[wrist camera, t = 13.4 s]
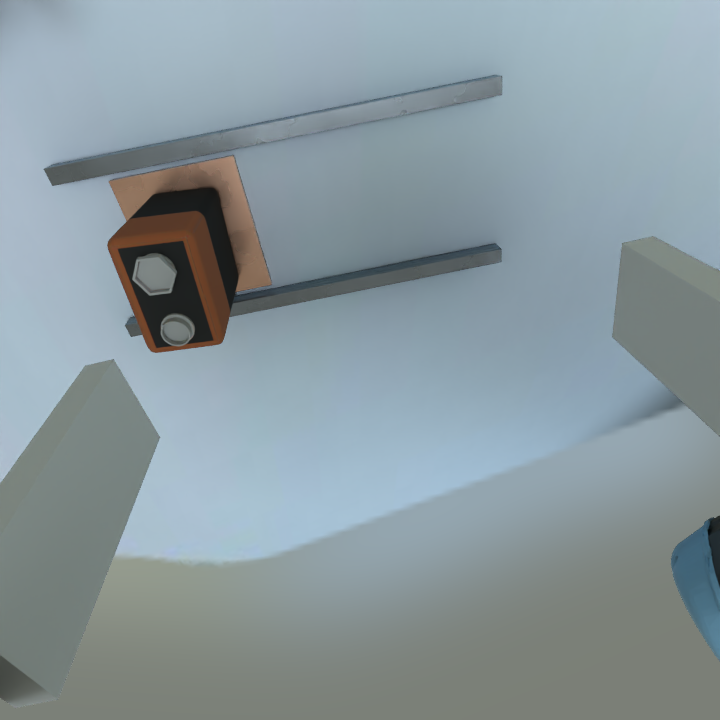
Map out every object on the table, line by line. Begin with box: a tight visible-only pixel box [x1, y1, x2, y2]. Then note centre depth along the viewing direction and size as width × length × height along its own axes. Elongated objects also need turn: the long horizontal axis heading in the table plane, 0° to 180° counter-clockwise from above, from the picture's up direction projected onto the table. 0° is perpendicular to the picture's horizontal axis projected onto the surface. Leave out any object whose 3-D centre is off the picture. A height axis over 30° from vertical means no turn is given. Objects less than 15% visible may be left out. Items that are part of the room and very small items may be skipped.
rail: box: [44, 75, 502, 337], centre depth 32 cm, size 12×28×1 cm, turn 100°
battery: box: [107, 187, 239, 353], centre depth 28 cm, size 4×7×10 cm, turn 5°
